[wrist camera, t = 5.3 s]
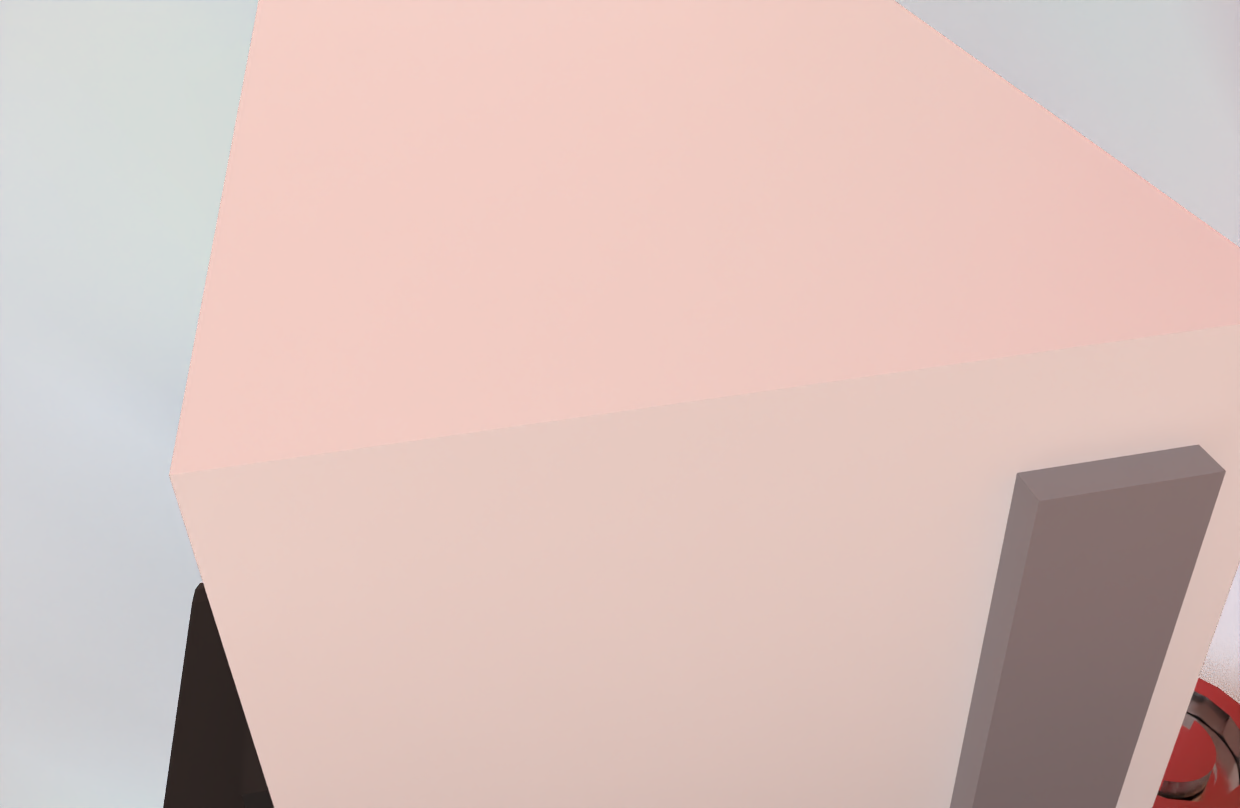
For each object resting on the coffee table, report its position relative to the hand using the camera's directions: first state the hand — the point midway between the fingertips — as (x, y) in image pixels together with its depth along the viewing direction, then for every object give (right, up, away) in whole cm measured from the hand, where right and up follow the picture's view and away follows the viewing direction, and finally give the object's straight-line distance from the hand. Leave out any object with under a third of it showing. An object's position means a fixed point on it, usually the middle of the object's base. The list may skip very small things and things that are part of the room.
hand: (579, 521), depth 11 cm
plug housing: (0, 0, 0) cm, 0 cm away
